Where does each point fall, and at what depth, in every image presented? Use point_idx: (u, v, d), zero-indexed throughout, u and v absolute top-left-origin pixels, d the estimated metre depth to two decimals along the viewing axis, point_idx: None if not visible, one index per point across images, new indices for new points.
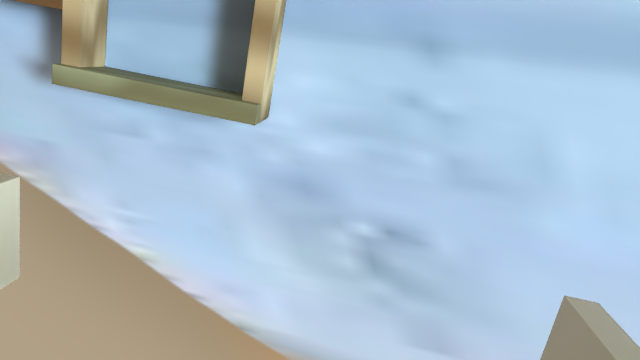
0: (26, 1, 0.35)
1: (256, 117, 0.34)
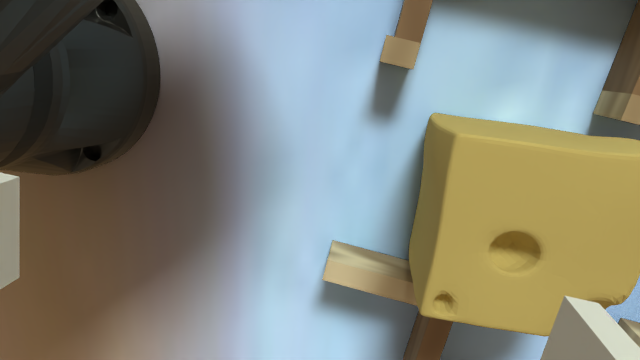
0: None
1: None
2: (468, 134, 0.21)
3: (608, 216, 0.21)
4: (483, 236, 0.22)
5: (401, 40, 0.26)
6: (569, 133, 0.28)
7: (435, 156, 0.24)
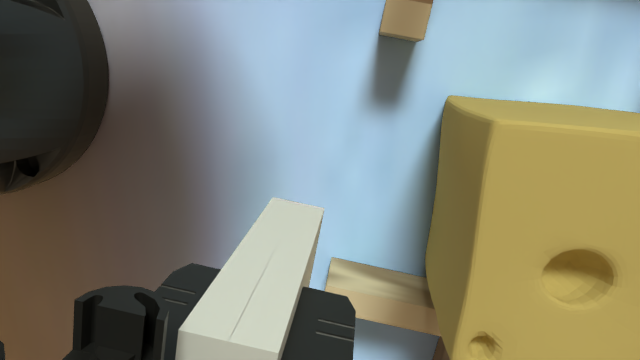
0: None
1: None
2: (510, 120, 0.15)
3: None
4: (535, 258, 0.16)
5: (407, 2, 0.20)
6: (624, 112, 0.22)
7: (462, 152, 0.18)
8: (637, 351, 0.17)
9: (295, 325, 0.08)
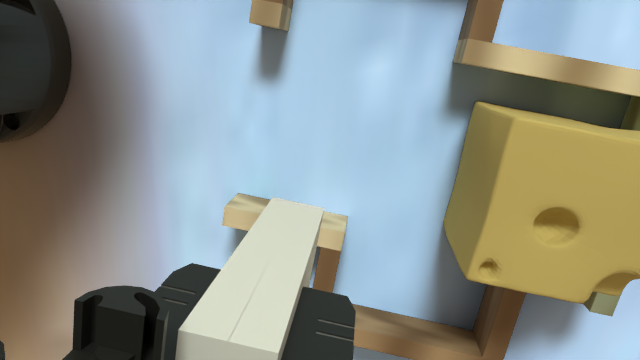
0: (513, 326, 0.33)
1: None
2: (525, 118, 0.24)
3: None
4: (530, 210, 0.25)
5: (265, 2, 0.30)
6: (601, 126, 0.31)
7: (489, 138, 0.26)
8: (589, 279, 0.25)
9: (295, 325, 0.08)
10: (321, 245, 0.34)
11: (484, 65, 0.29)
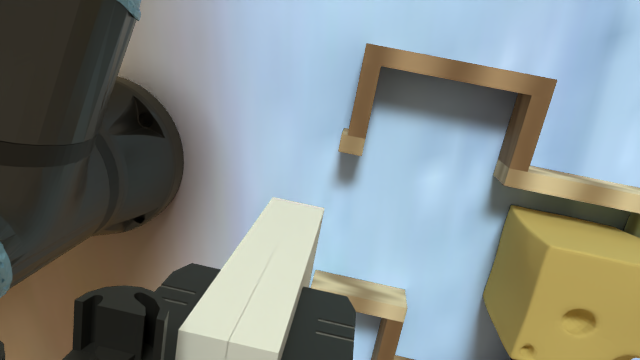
0: None
1: None
2: (557, 246, 0.33)
3: None
4: (559, 311, 0.34)
5: (352, 137, 0.38)
6: (610, 229, 0.40)
7: (527, 252, 0.35)
8: None
9: (295, 325, 0.08)
10: (387, 317, 0.42)
11: (521, 188, 0.38)
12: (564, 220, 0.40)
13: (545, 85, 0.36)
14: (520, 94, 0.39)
